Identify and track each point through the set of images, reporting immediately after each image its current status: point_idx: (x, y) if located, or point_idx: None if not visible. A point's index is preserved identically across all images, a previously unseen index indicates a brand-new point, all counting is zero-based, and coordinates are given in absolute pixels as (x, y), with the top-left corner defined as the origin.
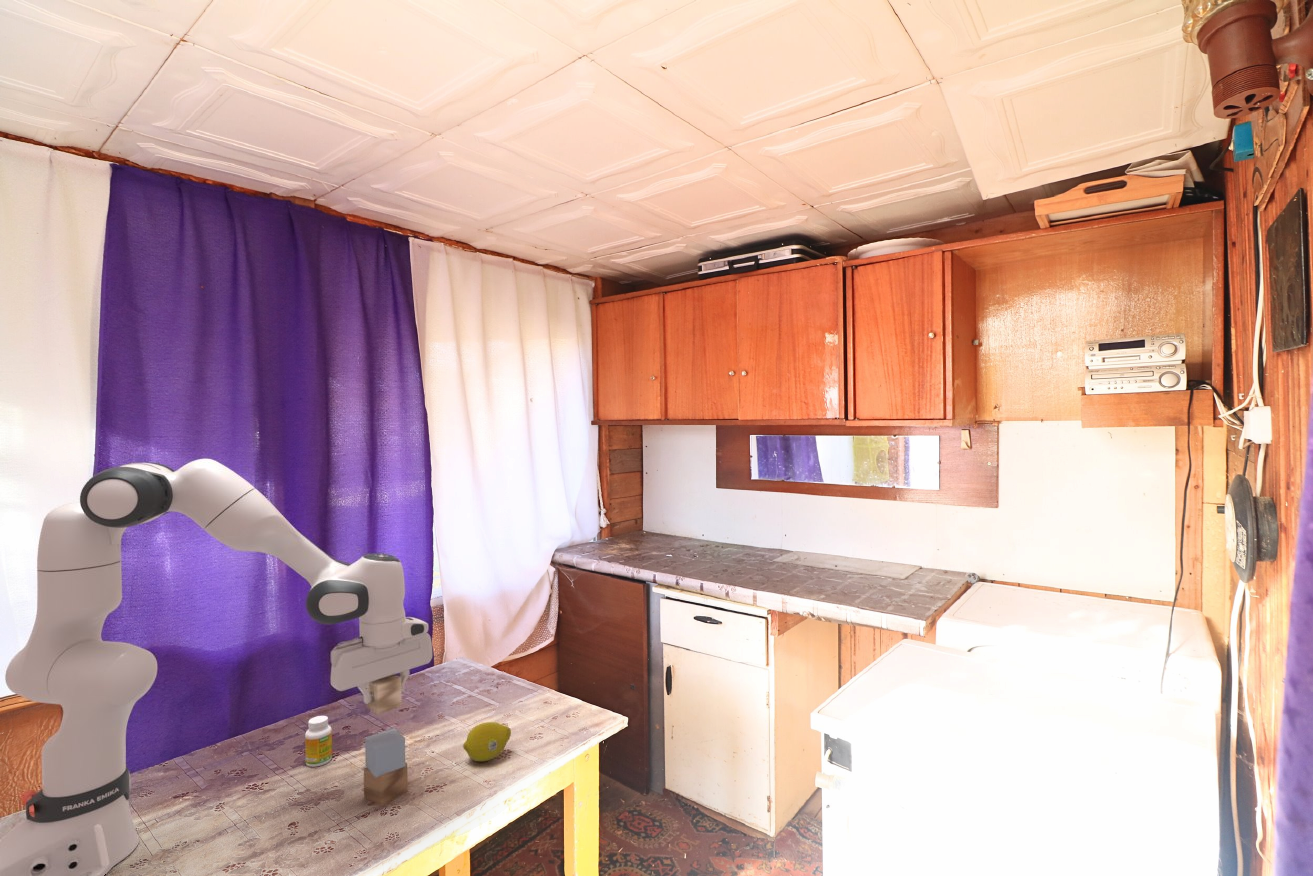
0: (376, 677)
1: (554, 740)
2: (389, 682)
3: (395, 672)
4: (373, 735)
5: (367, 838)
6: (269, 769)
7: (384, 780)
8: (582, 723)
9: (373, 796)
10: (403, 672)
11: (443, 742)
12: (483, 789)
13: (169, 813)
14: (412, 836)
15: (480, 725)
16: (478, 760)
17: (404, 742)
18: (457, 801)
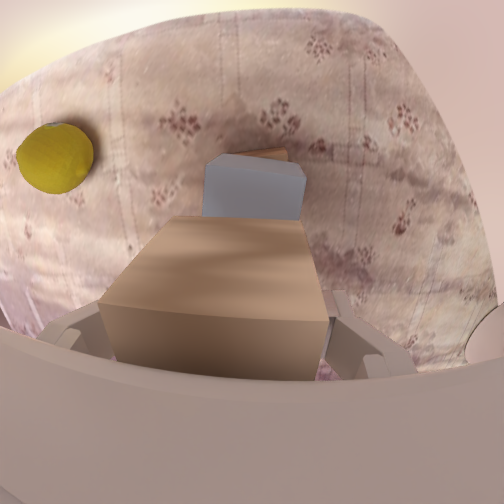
0: (329, 398)
1: (2, 129)
2: (204, 310)
3: (115, 369)
4: None
5: (351, 79)
6: (330, 380)
7: (279, 152)
8: None
9: None
10: (68, 347)
11: (107, 261)
12: (128, 56)
13: (433, 361)
14: (294, 20)
15: (39, 169)
16: (88, 138)
17: (210, 162)
18: (178, 51)
